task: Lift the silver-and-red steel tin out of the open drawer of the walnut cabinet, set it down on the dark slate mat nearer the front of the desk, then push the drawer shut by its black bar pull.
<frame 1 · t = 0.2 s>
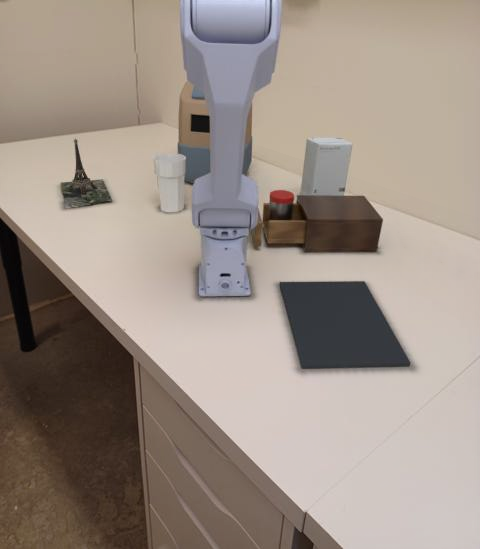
hand: (224, 54, 86), 31 cm above the table, tool tilted 45°, fingers open, 7 cm apart
mat: (337, 320, 69), on the table
tin: (279, 228, 90), point 2 cm above the table, touching drawer
cosmetic box: (320, 207, 106), on the table
eiffel tower figurine: (85, 194, 108), on the table
cabinet: (333, 238, 92), on the table
tan and blue canister: (215, 178, 121), on the table
cup: (171, 208, 103), on the table
drawer: (274, 222, 90), point 3 cm above the table, slide at 8.0 cm, touching tin
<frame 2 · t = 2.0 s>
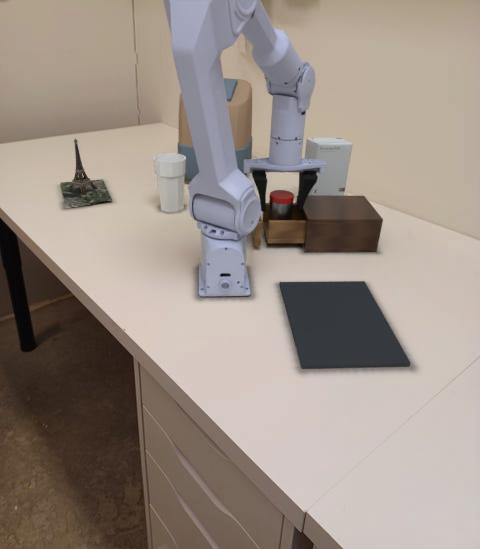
hand: (281, 209, 88), 6 cm above the table, tool pointing down, fingers open, 6 cm apart
nothing on the table moved.
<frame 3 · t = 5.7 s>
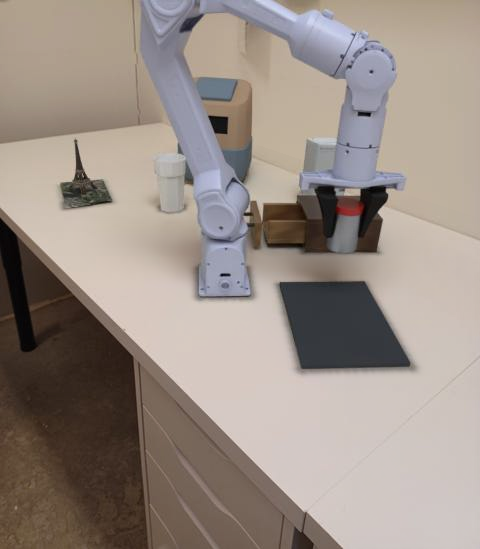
hand: (343, 235, 70), 10 cm above the table, tool pointing down, fingers closed on tin, 4 cm apart
tin: (341, 247, 71), point 8 cm above the table, touching gripper
drawer: (274, 222, 90), point 3 cm above the table, slide at 8.0 cm
everything else where it was.
when the fingers open (3 cm above the table, at t = 8.6 s): tin stays where it is, resting on mat.
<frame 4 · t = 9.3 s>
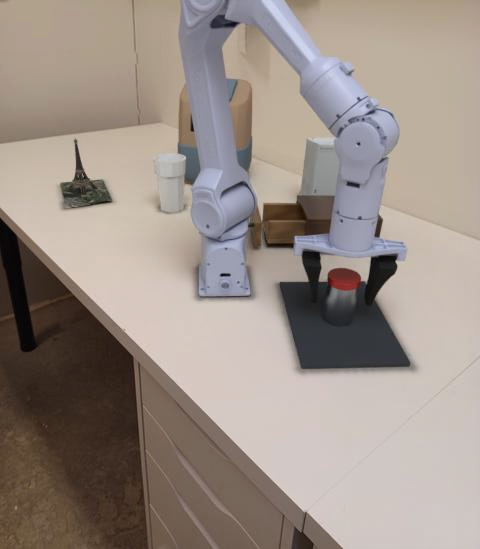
hand: (340, 300, 67), 4 cm above the table, tool pointing down, fingers open, 7 cm apart
tin: (337, 317, 68), point 1 cm above the table, touching mat
everything else where it was.
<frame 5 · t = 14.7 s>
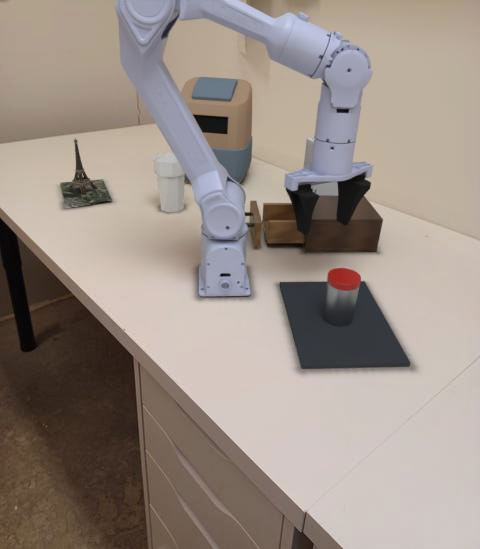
hand: (323, 227, 73), 10 cm above the table, tool pointing down, fingers open, 7 cm apart
nothing on the table moved.
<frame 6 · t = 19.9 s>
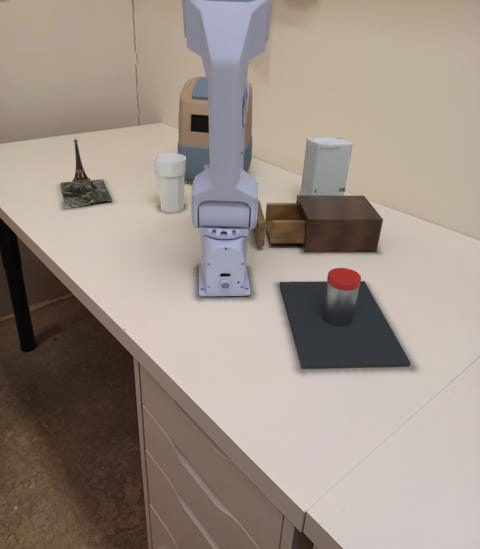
hand: (226, 223, 89), 3 cm above the table, tool pointing down, fingers closed
drawer: (277, 222, 90), point 3 cm above the table, slide at 7.4 cm, touching gripper
everything else where it was.
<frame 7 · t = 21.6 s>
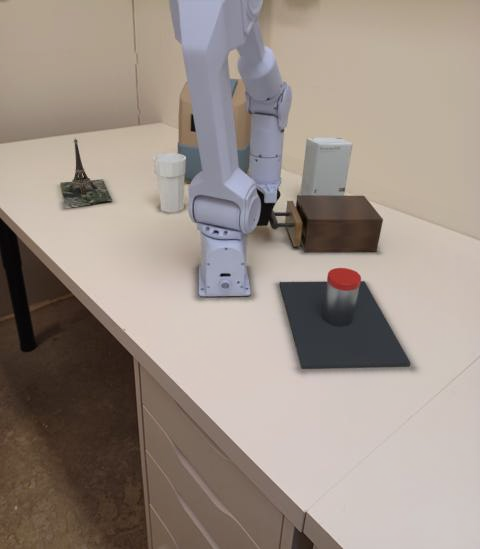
hand: (261, 224, 90), 3 cm above the table, tool pointing down, fingers closed, pressing on drawer
drawer: (312, 222, 90), point 3 cm above the table, slide at 0.8 cm, touching gripper
everything else where it was.
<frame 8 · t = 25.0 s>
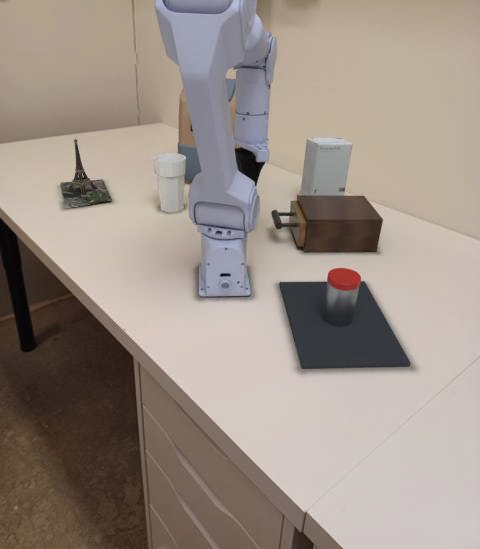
hand: (248, 189, 86), 10 cm above the table, tool pointing down, fingers closed
drawer: (315, 222, 90), point 3 cm above the table, slide at 0.0 cm, touching cabinet
everything else where it was.
at the end: tin inside the target area on the mat (0.0 cm from its centre), point 0.6 cm above the mat's base; tin tilted 0°; drawer slide at 0.0 cm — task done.
